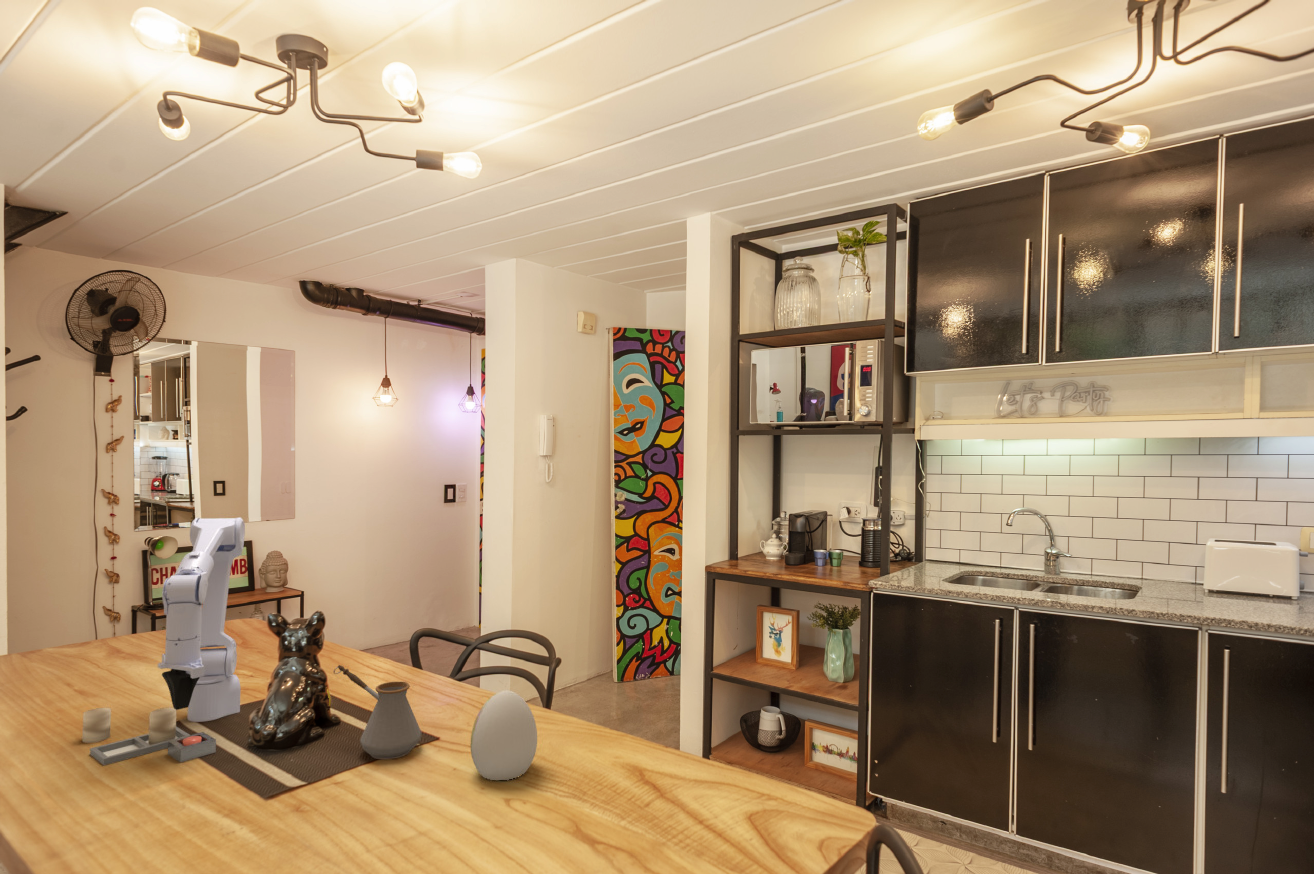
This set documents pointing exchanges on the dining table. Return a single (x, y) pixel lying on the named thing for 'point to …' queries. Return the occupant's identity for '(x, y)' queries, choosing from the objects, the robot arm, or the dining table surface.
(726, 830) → the dining table surface
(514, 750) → the decorative egg
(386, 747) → the coffee pot
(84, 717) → the billet
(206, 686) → the robot arm
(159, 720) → the cylinder
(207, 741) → the button housing
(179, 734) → the shallow grey tray
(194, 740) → the button
